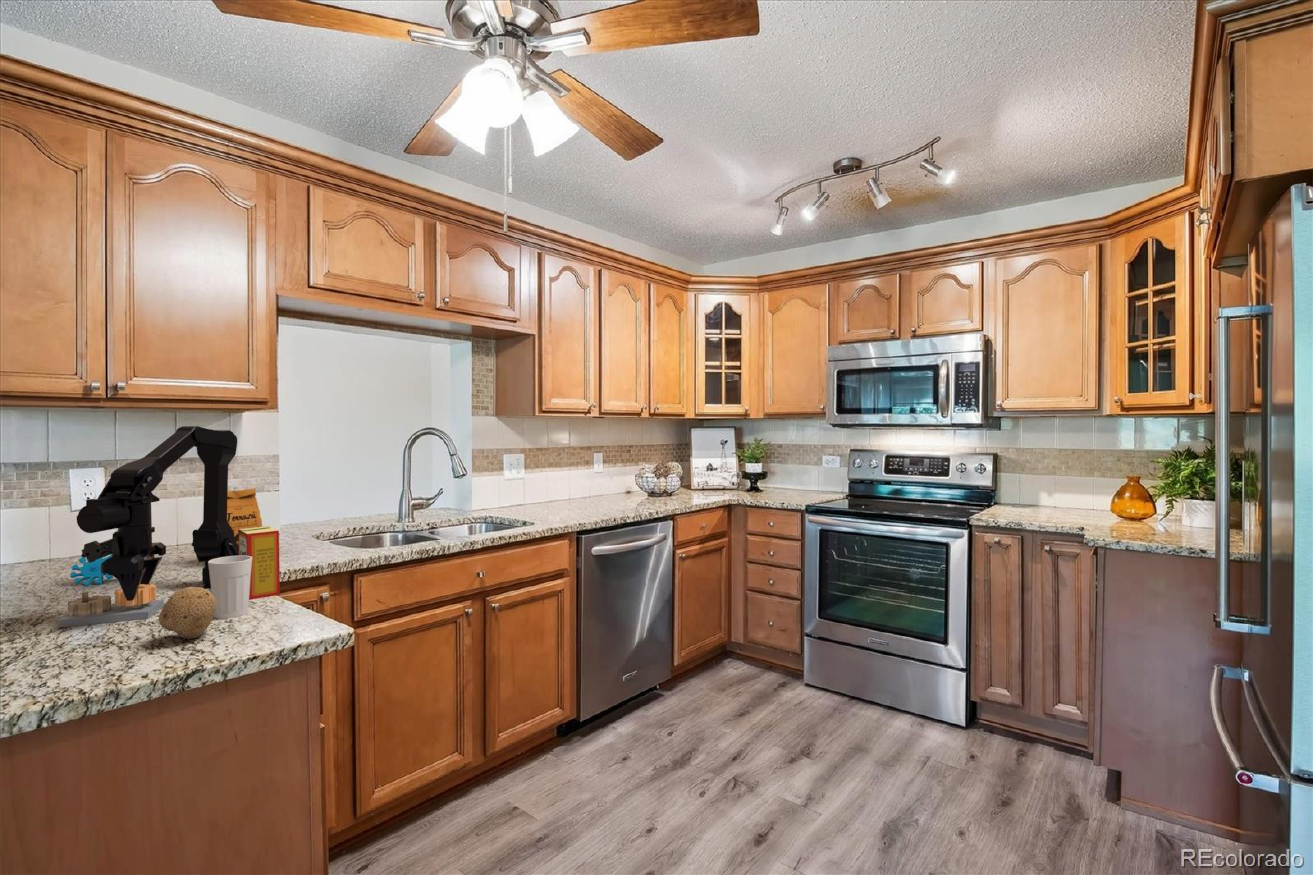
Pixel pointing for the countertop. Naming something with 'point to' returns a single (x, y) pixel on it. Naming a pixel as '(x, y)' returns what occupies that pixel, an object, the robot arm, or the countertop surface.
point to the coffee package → (243, 510)
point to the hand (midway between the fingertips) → (136, 596)
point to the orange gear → (137, 596)
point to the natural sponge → (188, 612)
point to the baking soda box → (261, 559)
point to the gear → (90, 571)
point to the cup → (230, 585)
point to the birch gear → (89, 605)
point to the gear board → (114, 614)
